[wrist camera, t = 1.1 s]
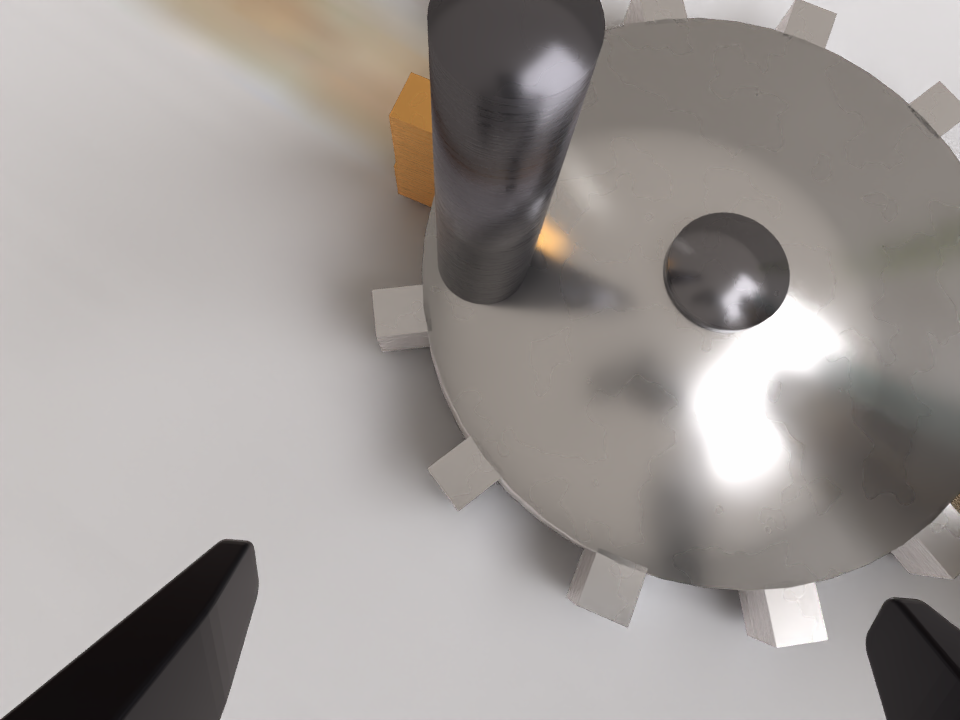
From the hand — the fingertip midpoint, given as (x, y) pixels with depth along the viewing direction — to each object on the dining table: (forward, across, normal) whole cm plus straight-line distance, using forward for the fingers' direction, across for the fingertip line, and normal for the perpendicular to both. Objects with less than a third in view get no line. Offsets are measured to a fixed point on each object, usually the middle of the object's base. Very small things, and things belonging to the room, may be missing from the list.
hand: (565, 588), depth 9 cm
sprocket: (+16, -6, +2) cm, 17 cm away
